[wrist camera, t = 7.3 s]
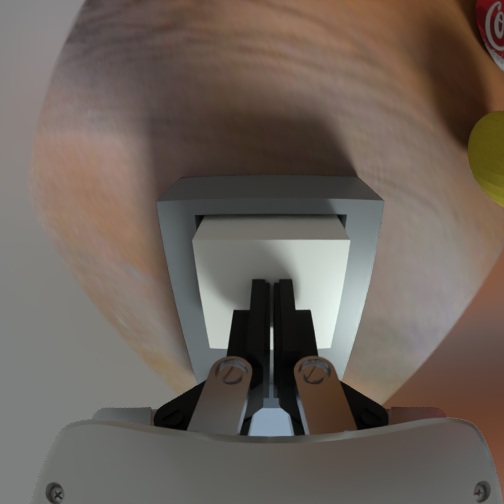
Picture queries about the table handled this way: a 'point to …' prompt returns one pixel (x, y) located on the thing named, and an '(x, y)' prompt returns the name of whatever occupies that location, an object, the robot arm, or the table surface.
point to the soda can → (492, 27)
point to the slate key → (271, 418)
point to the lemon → (488, 155)
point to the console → (268, 202)
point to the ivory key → (270, 267)
